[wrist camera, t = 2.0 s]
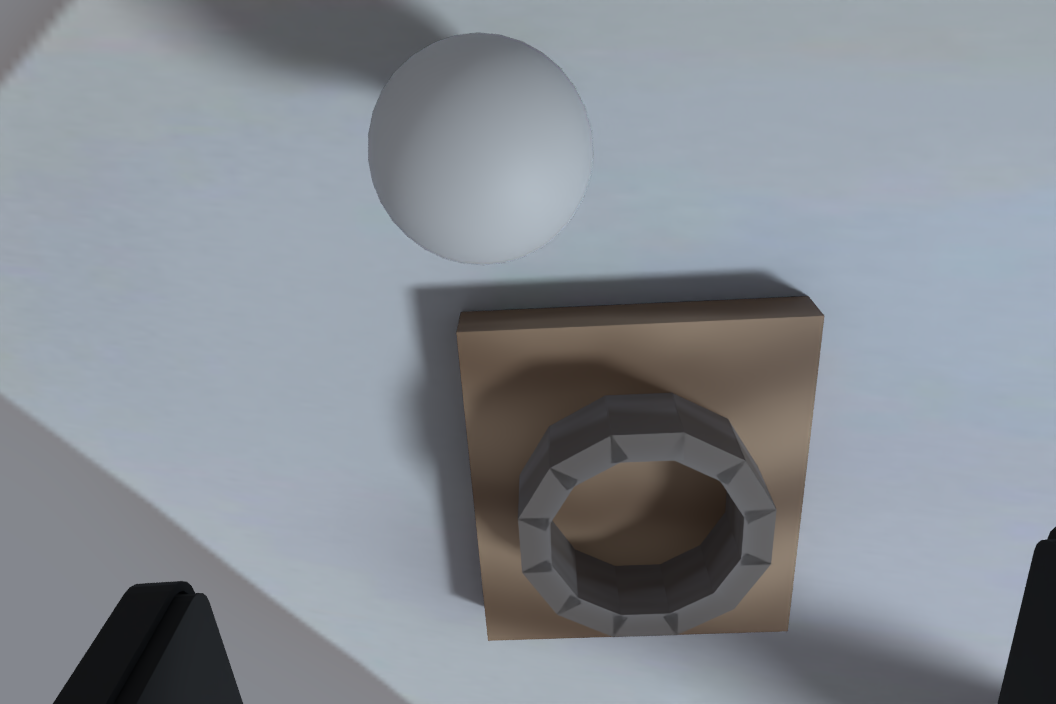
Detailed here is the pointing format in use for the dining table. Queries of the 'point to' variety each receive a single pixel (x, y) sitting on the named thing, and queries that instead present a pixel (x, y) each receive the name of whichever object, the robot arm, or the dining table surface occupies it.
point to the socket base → (639, 464)
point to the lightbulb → (480, 148)
